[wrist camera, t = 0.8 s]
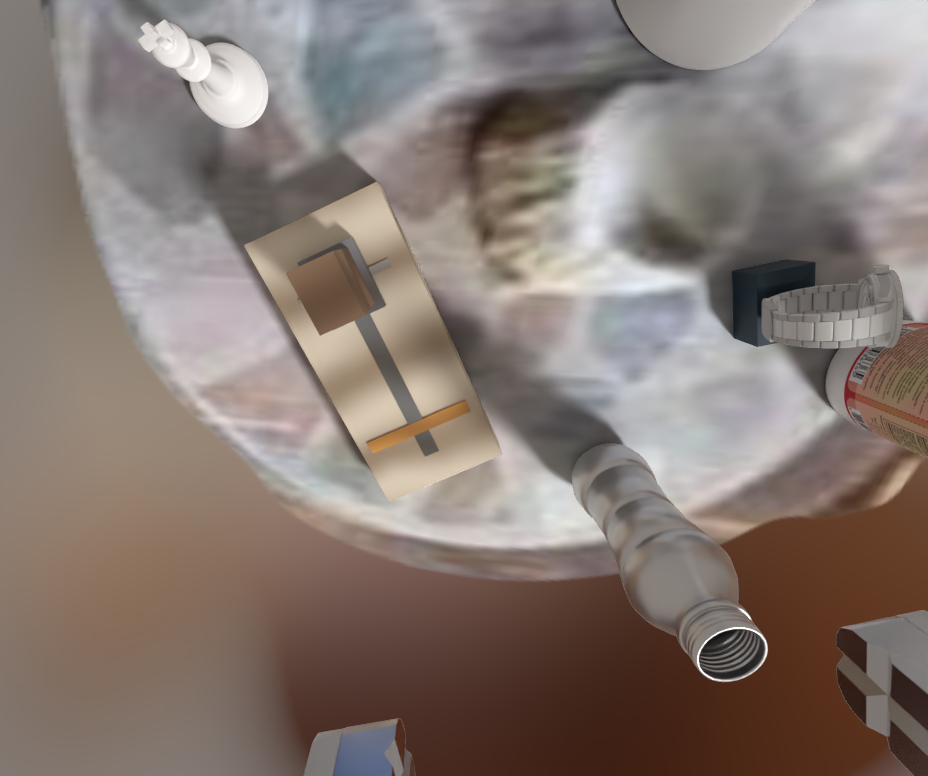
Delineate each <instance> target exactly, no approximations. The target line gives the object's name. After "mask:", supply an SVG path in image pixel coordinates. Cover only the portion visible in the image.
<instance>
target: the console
mask: <svg viewBox="0 0 928 776" xmlns="http://www.w3.org/2000/svg"><path fill="white" fill-rule="evenodd" d="M350 237H353V238H354V240H355V242H356V244H357V246H358V248H359V250H360V252H361V254H362V256H363V258H364V260H365V262H366V264H367V266H368V268H369V270H370V272H371V274H372V276H373V278H374V280H375V282H376V284H377V286H378V288H379V290H380V293H381V295H382V297H383V299H384V301H385V303H386V306H385V307H383V308H381V309H379V310H377V311H375V312H372V313H370V314H368V315H366V316H364V317H361V318H359V319H357V320H355V321H353V322H350V323H348V324H346V325H344V326H342V327H339V328H337V329H335V330H332V331H330V332H327V333H325V334H323V335H321V336H320V335H319V333H318V331H317V330H316V328H315V326H314V324H313V322H312V320H311V319H310V317H309V315H308V313H307V311H306V310H305V308H304V306H303V304H302V302H301V300H300V299H299V297H298V295H297V293H296V291H295V290H294V288H293V286H292V284H291V282H290V280H289V279H288V277H287V275H286V273H287V272H289V271H291V270H293V269H295V268H297V267H299V266H298V264H297V262H300V261H302V260H304V259H306V258H308V257H310V256H312V255H314V254H317V253H319V252H321V251H323V250H325V249H327V248H329V247H331V246H333V245H336V244H338V243H340V242H342V241H344V240H346V239H348V238H350ZM244 247H245V248H246V250H247V252H248V254H249V255H250V257H251V259H252V261H253V263H254V264H255V266H256V268H257V270H258V271H259V273H260V275H261V277H262V278H263V280H264V282H265V284H266V285H267V287H268V289H269V291H270V293H271V294H272V296H273V298H274V300H275V301H276V303H277V305H278V307H279V308H280V310H281V312H282V314H283V315H284V317H285V319H286V321H287V322H288V324H289V326H290V328H291V330H292V331H293V333H294V335H295V337H296V338H297V340H298V342H299V344H300V345H301V347H302V349H303V351H304V352H305V354H306V356H307V358H308V360H309V361H310V363H311V365H312V367H313V368H314V370H315V372H316V374H317V375H318V377H319V379H320V381H321V382H322V384H323V386H324V388H325V390H326V391H327V393H328V395H329V397H330V398H331V400H332V402H333V404H334V405H335V407H336V409H337V411H338V412H339V414H340V416H341V418H342V420H343V421H344V423H345V425H346V427H347V428H348V430H349V432H350V434H351V435H352V437H353V439H354V441H355V442H356V444H357V446H358V448H359V449H360V451H361V453H362V455H363V457H364V458H365V460H366V462H367V464H368V465H369V467H370V469H371V471H372V472H373V474H374V476H375V478H376V479H377V481H378V483H379V485H380V487H381V488H382V490H383V492H384V494H385V495H386V497H387V499H388V501H389V502H391V501H394V500H396V499H398V498H401V497H403V496H405V495H408V494H410V493H413V492H415V491H417V490H420V489H422V488H424V487H427V486H429V485H431V484H434V483H436V482H439V481H441V480H443V479H446V478H448V477H450V476H453V475H455V474H458V473H460V472H462V471H465V470H467V469H469V468H472V467H474V466H477V465H479V464H481V463H484V462H486V461H488V460H491V459H493V458H496V457H498V456H500V455H502V452H501V449H500V446H499V442H498V439H497V437H496V435H495V433H494V430H493V428H492V426H491V424H490V422H489V419H488V417H487V415H486V413H485V411H484V409H483V406H482V404H481V402H480V400H479V398H478V395H477V393H476V391H475V389H474V387H473V385H472V382H471V380H470V378H469V376H468V374H467V371H466V369H465V367H464V365H463V363H462V361H461V358H460V356H459V354H458V352H457V350H456V347H455V345H454V343H453V341H452V339H451V337H450V334H449V332H448V330H447V328H446V326H445V323H444V321H443V319H442V317H441V315H440V313H439V310H438V308H437V306H436V304H435V302H434V299H433V297H432V295H431V293H430V291H429V289H428V286H427V284H426V282H425V280H424V278H423V275H422V273H421V271H420V269H419V267H418V265H417V262H416V260H415V258H414V256H413V254H412V251H411V249H410V247H409V245H408V243H407V241H406V238H405V236H404V234H403V232H402V230H401V227H400V225H399V223H398V221H397V219H396V217H395V214H394V212H393V210H392V208H391V206H390V203H389V201H388V199H387V197H386V195H385V193H384V190H383V188H382V186H381V185H380V184H379V183H377V182H375V183H373V184H371V185H369V186H367V187H365V188H362V189H360V190H358V191H356V192H354V193H352V194H350V195H348V196H346V197H344V198H342V199H340V200H337V201H335V202H333V203H331V204H329V205H327V206H325V207H323V208H321V209H319V210H317V211H314V212H312V213H310V214H308V215H306V216H304V217H302V218H300V219H298V220H296V221H294V222H291V223H289V224H287V225H285V226H283V227H281V228H279V229H277V230H275V231H273V232H271V233H269V234H266V235H264V236H262V237H260V238H258V239H256V240H254V241H252V242H250V243H248V244H246V245H244Z"/></svg>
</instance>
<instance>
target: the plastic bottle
mask: <svg viewBox="0 0 928 776" xmlns="http://www.w3.org/2000/svg"><path fill="white" fill-rule="evenodd" d="M572 485H573V490H574V495H575V497H576V499H577V501H578V502H579V503H580V505H581V506H582V507H583V508H584V510H585V511H586V512H587V513H588V514H589V515H590V516H591V517H592V518H593V519H594V520H595V522H596V523H597V525H598V526H599V527H600V529H601V530H602V532H603V533H604V535H605V536H606V539H607V541H608V543H609V545H610V547H611V550H612V552H613V554H614V556H615V560H616V563H617V566H618V570H619V573H620V576H621V579H622V582H623V586H624V588H625V591H626V593H627V596H628V598H629V601H630V603H631V605H632V606H633V607H634V609H635V610H636V611H637V612H638V613H639V614H640V615H641V616H642V617H643V618H644V619H645V620H646V621H648V622H649V623H650V624H652V625H653V626H655V627H658V628H659V629H661V630H664V631H666V632H668V633H670V634H672V635H675V636H677V639H678V641H679V643H680V645H681V646H682V648H683V649H684V651H685V652H686V653H687V654H688V655H689V656H690V658H691V659H692V661H693V662H694V664H695V666H696V667H697V669H698V670H699V671H700V672H701V673H702V674H703V675H704V676H706V677H707V678H709V679H711V680H714V681H720V682H731V681H736V680H739V679H742V678H745V677H746V676H748V675H750V674H752V673H753V672H754V671H756V670H757V669H758V668H759V667H760V666H761V665H762V663H763V662H764V660H765V658H766V656H767V652H768V646H767V642H766V639H765V638H764V636H763V635H762V633H761V632H760V631H759V629H758V628H757V627H756V626H755V625H754V623H753V622H752V619H751V617H750V616H749V614H748V613H747V612H746V611H745V609H744V608H743V607H742V606H741V605H740V604H738V579H737V575H736V572H735V569H734V567H733V564H732V562H731V559H730V558H729V556H728V555H727V553H726V552H725V550H723V549H722V548H721V547H720V546H719V545H718V544H717V543H716V542H715V541H714V540H713V539H712V538H711V537H709V536H708V535H707V534H706V533H704V532H703V531H702V530H701V529H699V528H698V527H697V526H696V525H694V524H693V523H692V522H691V521H689V520H688V519H687V518H686V517H685V516H684V515H683V514H682V513H681V512H680V511H679V510H678V509H677V508H676V507H675V506H674V505H673V504H672V503H671V502H670V501H669V500H668V498H667V497H666V495H665V494H664V492H663V491H662V489H661V488H660V486H659V485H658V483H657V481H656V479H655V476H654V474H653V472H652V470H651V468H650V466H649V465H648V463H647V462H646V460H645V459H644V458H643V457H642V456H641V455H640V454H638V453H636V452H635V451H633V450H632V449H630V448H628V447H627V446H624V445H621V444H616V443H605V444H600V445H597V446H594V447H592V448H590V449H589V450H587V451H585V452H584V453H583V454H582V455H581V456H580V457H579V459H578V460H577V461H576V463H575V465H574V467H573V471H572Z"/></svg>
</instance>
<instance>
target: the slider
mask: <svg viewBox="0 0 928 776" xmlns="http://www.w3.org/2000/svg"><path fill="white" fill-rule="evenodd" d="M297 264H298V266H299V267H297V268H295V269H293V270H291V271H289V272H287V273H286V275H287V277H288V279H289V280H290V282H291V284H292V286H293V288H294V290H295V291H296V293H297V295H298V297H299V299H300V300H301V302H302V304H303V306H304V308H305V310H306V311H307V313H308V315H309V317H310V319H311V320H312V322H313V324H314V326H315V328H316V330H317V331H318V333H319V335H320V336H321V335H323V334H325V333H327V332H330V331H332V330H335V329H337V328H339V327H342V326H344V325H346V324H348V323H350V322H353V321H355V320H357V319H359V318H361V317H364V316H366V315H368V314H370V313H372V312H375V311H377V310H379V309H381V308H383V307H385V306H386V303H385V301H384V299H383V297H382V295H381V293H380V290H379V288H378V286H377V284H376V282H375V280H374V278H373V276H372V274H371V272H370V270H369V268H368V266H367V264H366V262H365V260H364V258H363V256H362V254H361V252H360V250H359V248H358V246H357V244H356V242H355V240H354V238H353V237H350V238H348V239H346V240H344V241H342V242H340V243H338V244H336V245H333V246H331V247H329V248H327V249H325V250H323V251H321V252H319V253H317V254H314V255H312V256H310V257H308V258H306V259H304V260H302V261H300V262H297Z"/></svg>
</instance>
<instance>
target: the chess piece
mask: <svg viewBox="0 0 928 776" xmlns="http://www.w3.org/2000/svg"><path fill="white" fill-rule="evenodd" d="M140 28H141V29H142V30H143V32H144V33H145V35H144V36H143V37H141V38H140V39H139V40H138V41H139V42H140V44H141V45H142V46H143V48H144V49H145V50H147V51H148V52H150V51H152V53H153V55H154V56H155V58H156V59H157V60H158V61H159V62H160V63H162V64H163V65H165V66H167V67H171V68H175V69H176V71H177V72H178V74H179V75H180V76H181V77H183V78H184V79H186V80H188V81H189V82H190V88H191V91H192V94H193V97H194V99H195V101H196V103H197V104H198V106H199V107H200V108H201V110H202V111H203V112H204V113H205V114H206V115H207V116H208V117H210V118H211V119H212V120H213V121H215V122H216V123H218V124H220V125H222V126H225V127H229V128H243V127H247V126H249V125H251V124H253V123H254V122H256V121H257V120H258V119H259V118H260V116H261V115H262V114H263V112H264V110H265V108H266V105H267V101H268V85H267V80H266V77H265V74H264V72H263V70H262V68H261V67H260V65H259V64H258V62H257V61H256V60H255V59H254V58H253V57H252V56H251V55H250V54H249V53H248V52H246V51H245V50H243V49H241V48H239V47H237V46H235V45H232V44H229V43H213V44H210V45H207V46H204V45H203V44H202V43H200V42H199V41H197V40H195V39H192V38H188V37H187V35H186V34H185V33H184V31H183V30H182V29H181V28H180V27H178V26H177V25H175V24H173V23H170V22H168V21H166V20H165V19H164V20H163V21H162V22H160V23H158V24H157V25H155V26H153V25H151V24H150V23H148V22H146V23H145V24H144V25H143V26H141V27H140Z"/></svg>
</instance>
